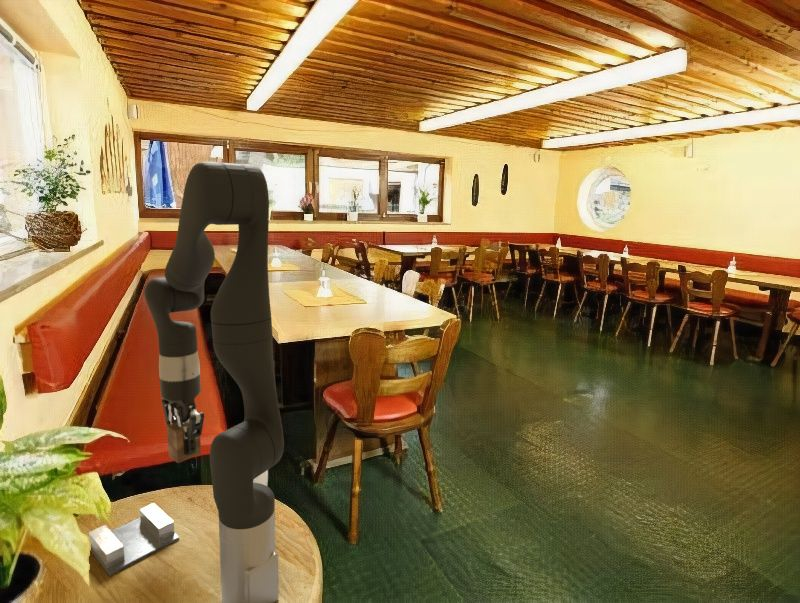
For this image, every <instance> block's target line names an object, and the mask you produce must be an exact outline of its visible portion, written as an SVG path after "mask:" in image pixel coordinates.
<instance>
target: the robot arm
mask: <svg viewBox="0 0 800 603" xmlns="http://www.w3.org/2000/svg"><path fill="white" fill-rule="evenodd" d="M269 197H270V196H269V188H268V182H267V179H266V177H265V174H264V172H263V171H262V169H261V168H259V167H258V166H256V165H252V164H246V163H244V164H243V163H234V162H233V163H232V162H220V161H218V162H217V161H200V162H197V163H195V164H194V165H193V166H192V168H191V169H190V171H189V173H188V175H187V177H186V182H185V185H184V189H183V195H182V201H181V205H180V206H181V207H180V213H179V219H178V226H177V227H178V228H177V234H176V239H175V244H174V247H173V250H172V251H171V254H170V256H169V258H168V261H167V263H166V266H165V268H164V276H163V277H161V276H160V277H154V278H152V279H150V280H149V281H148V282H147V284H146V285H145V287H144V299H145V301H146V304H147V308H148V309H149V311H150V314H151V315H152V319H153V322H154V325H155V328H156V333H157V339H158V351H159V354H158V355H159V357H158V358H159V359H158V371H159V372H158V373H159V386H160V397H161V405H162V408H163V413H164V419H165V423H166V426H167V425H170V424H174V423H176V422H178V426H179V428H180V429H182V433H183V438H184V439H183V442H184V454H185V455H190V454H193V453H195V451H196V442H195V438H196V437H198V436H200V437H201V436H202V432H203V427H204V420H205V413H204V412H203V411H200V412H198V411H197V405H196V400H195V399H196V397H198V396H199V395H200V394H201V391H202V385H201V384H202V383H201V369H200V368H201V367H200V366H201V364H200V363H201V362H200V357H199V351H198V334H197V328H196V325H195V324H194V323H192V322H189V321H180V320H179V321H178V320H173V319H171V316H170V314H172V313H179V312H188V311H193V310H196V309H198V308H200V307H201V306H202V305H203V304H204V301H205V282H206V279H207V277H208V275H209V274H210V273H211V271H212V269H213V266H214V263H215V260H216V259H215V258H216V256H215V248H214V245H213V244H212V242H211V240H210V238H209V236H208V235H207V233H206V232H205V230H206V228H207V227H209V226H210V225H215V226H225V225H229V226H230V225H232V226H234V225H238V237H237V238H238V239H237V240H238V241H237V248H236V252H235V257H234V259H233V262H232V265H231V267H230V269H229V270H228V272H227V273H226V276H225V278H224V279H223V281H222V283H221V285H220V287H219V289H218V291H217V293H216V294H215V297H214V299H213V301H212V302H213V303H212V305H211V308H210V321H211V323H210V324H211V335H212V346H213V350H214V353H215V356H216V357H217V359H218V361H219V362H220V364H221V365H222V366H223V368H224V369H225V370H226V372H227V373H228V374H229V375H230V376H231V378H232V379H233V380H234V382H235V383H236V385H238V388H239V389H240V392H241V395H242V401H243V408H244V409H243V410H244V420H243V421H242V422H241V423H238V424H237V425H234V426H232V427H230V428H228V429H226V430H224V431H222V432H221V433H219V434H217V435H216V436H215V437H214V438H213V440H212V441H211V444H210V448H209V466H210V473H211V474H210V475H211V484H212V494H213V499H214V500H213V501H214V503H215V505H216V508H217V513H218V530H219V531H218V532H219V533H218V534H219V535H218V536H219V561H220V564H219V565H220V585H221V590H220V591H221V603H276V602H277V601H278V600H279V597H280V596H279V554H278V553H277V552H276V516H275V515H276V511H275V510H276V508H275V507H276V503H275V502H276V500H275V493H274V492H273V490H272V489H271V488H270V487H269V486H268V485H267V486H266V485H263V484H259V483H253V480H254V479H255V478H256V477H258V476H259V475H261V474H262V473H264V472H265V471H267V470H268V471H269V470H270V469H271V468H273V467H274V466H276V464H278V463H279V462H280V461H281V458H282V457H283V454H284V449H285V440H284V437H285V436H284V431H283V430H284V429H283V423H282V417H281V412H280V406H279V401H278V400H279V399H278V395H277V386H276V376H275V373H276V372H275V362H274V348H273V341H274V340H273V323H272V308H271V299H270V285H269V265H268V262H269V259H268V258H269V256H268V254H269V228H270V227H269V224H270V222H269V220H270V198H269ZM186 421H189V422H187V423H185V424H183V422H186ZM187 427H188V432H187Z"/></svg>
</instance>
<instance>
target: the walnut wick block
mask: <svg viewBox="0 0 800 603" xmlns="http://www.w3.org/2000/svg"><path fill="white" fill-rule="evenodd" d="M187 422H189V421H186V422H183V424H185V423H187ZM187 432H188V427H187ZM166 433H167V436H166V437H167V449H168V457H169V458H170V459H172V461H174V462H175V463H177V464H180V463H182V462H185V461H187V460H189V459H191V458H194V457H197V456H199V455H202V448H201V446H202V445H201V436H198V437H196V438H195V442H196V451H195V453H193V454H190V455H185V454H184V442H183V439H184V438H183V433H182V429H180V428H179V426H178V422H176V423H174V424H170V425H167V424H166Z"/></svg>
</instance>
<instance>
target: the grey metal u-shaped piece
mask: <svg viewBox="0 0 800 603" xmlns="http://www.w3.org/2000/svg"><path fill="white" fill-rule="evenodd" d="M174 524H175V523H174V520H173V519H172V518H171V517H170V516H168V515H167V513H165V512H164V510H162V509H161V508H160V507H159V505H157V504H156V503H155V502H152V503H150V504H148V505H147V506H144V507H142V508H139V517H138V518H136V519H134V520H131V521H129V522H126V523H125V524H122V525H121V526H118V527H116V528H114V529H109V527H108V526H107V525H106V524H104V525H102V526H99V527H97V528H95V529H93V530H91V531H89V532H88V539H89V538H90V541H91V550H90V552H91V553H92V554H93V556H94V557H95V559H96V560H97V561H98V563H99V564H100V565H101V566H102V568H103V569H104V571H105V572H106V573H107V574H108V576H109V577H111V576H113V575H114V574H116V573H118V572H120V571H122V570H124V569H126V568H127V567H129V566H132V565H133V564H135V563H137V562H139V561H141V560H143V559H145V558H147V557H149V556H151V555H152V554H154V553H157V552H158V551H160V550H162V549H165V547H168V546H170V545H171V544H173V543H175V542H177V541H179V540H180V538H179V536H178V535H177V533H176V532H175V525H174Z"/></svg>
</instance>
